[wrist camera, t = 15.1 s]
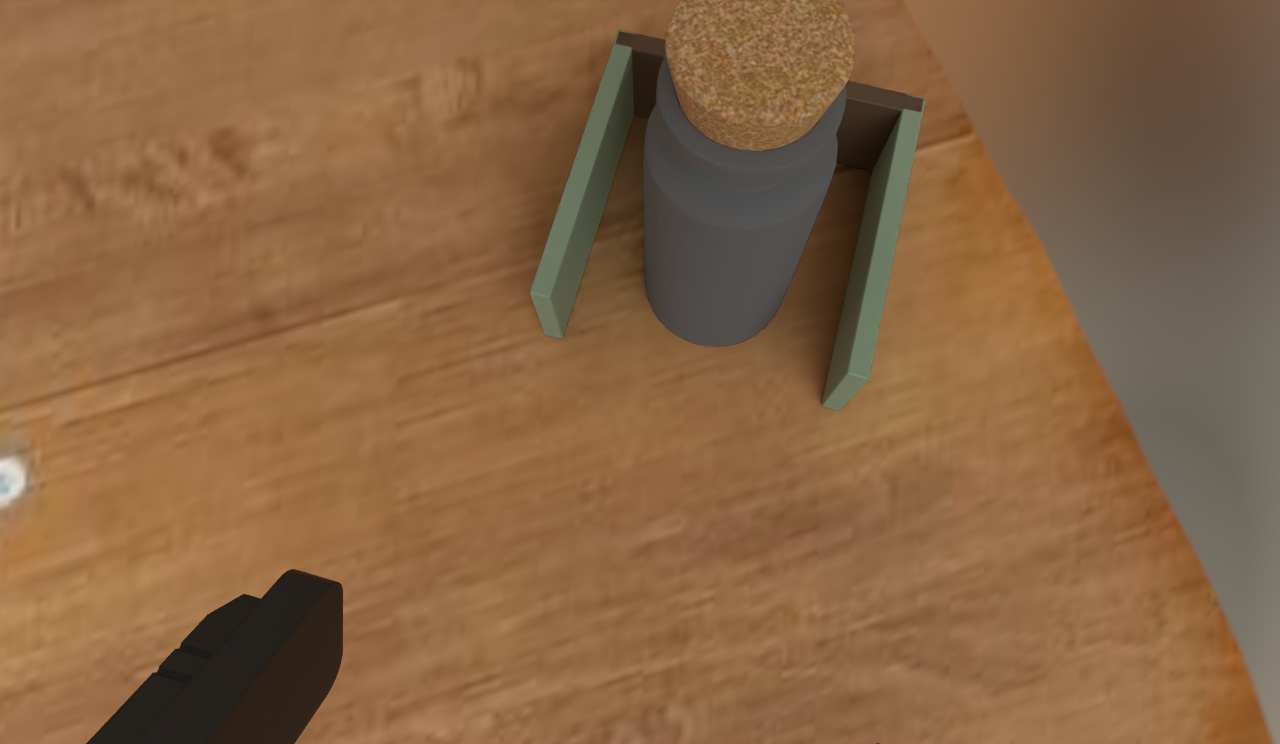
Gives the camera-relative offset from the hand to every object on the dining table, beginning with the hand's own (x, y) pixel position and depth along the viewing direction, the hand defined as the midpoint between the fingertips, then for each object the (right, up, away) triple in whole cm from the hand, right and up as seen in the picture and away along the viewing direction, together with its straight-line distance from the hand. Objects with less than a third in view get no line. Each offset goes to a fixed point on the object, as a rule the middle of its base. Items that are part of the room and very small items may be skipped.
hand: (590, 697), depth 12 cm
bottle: (+4, +8, +23) cm, 25 cm away
